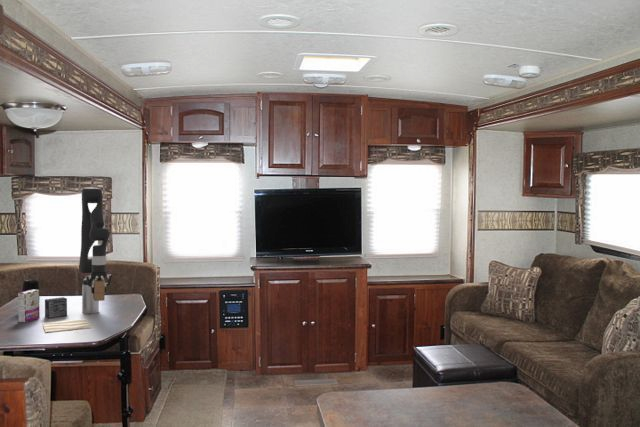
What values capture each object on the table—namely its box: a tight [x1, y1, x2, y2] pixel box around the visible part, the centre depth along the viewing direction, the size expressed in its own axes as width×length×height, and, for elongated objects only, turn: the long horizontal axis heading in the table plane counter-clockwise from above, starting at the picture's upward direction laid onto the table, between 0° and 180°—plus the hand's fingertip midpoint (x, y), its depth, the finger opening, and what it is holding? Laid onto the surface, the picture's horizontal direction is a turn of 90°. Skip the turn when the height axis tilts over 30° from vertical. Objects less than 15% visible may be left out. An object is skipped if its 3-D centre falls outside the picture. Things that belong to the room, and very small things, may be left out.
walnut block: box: [93, 279, 106, 302], centre depth 301 cm, size 8×5×11 cm, turn 31°
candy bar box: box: [17, 289, 40, 323], centre depth 300 cm, size 11×5×16 cm, turn 168°
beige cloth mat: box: [42, 318, 92, 334], centre depth 289 cm, size 20×22×1 cm
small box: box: [44, 296, 68, 319], centre depth 310 cm, size 11×6×10 cm, turn 134°
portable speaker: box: [22, 278, 40, 292], centre depth 321 cm, size 9×9×20 cm
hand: (98, 293), depth 301 cm, fingers closed on walnut block, 5 cm apart
